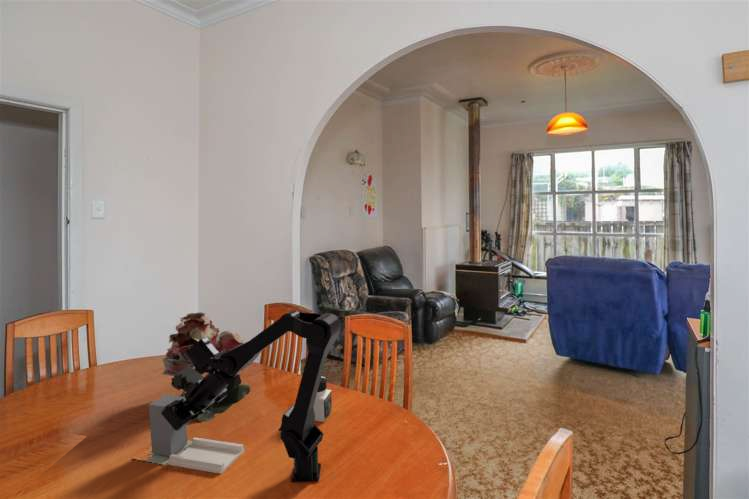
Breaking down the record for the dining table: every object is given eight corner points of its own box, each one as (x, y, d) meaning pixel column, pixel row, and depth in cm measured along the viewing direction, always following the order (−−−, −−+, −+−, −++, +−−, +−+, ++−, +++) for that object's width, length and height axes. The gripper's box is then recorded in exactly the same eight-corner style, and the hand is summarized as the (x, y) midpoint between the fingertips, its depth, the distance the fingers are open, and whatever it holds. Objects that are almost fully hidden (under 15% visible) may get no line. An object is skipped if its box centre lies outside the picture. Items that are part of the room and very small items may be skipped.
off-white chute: (244, 451, 111) (244, 443, 111) (221, 473, 101) (220, 465, 101) (196, 443, 115) (195, 436, 115) (169, 464, 105) (168, 457, 105)
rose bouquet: (260, 385, 153) (257, 304, 150) (208, 424, 125) (203, 325, 122) (200, 379, 160) (195, 301, 157) (138, 415, 132) (131, 321, 129)
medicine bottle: (324, 422, 125) (323, 383, 124) (302, 420, 127) (301, 381, 126) (332, 411, 132) (331, 374, 131) (310, 409, 134) (309, 372, 133)
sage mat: (194, 442, 115) (194, 441, 115) (164, 465, 105) (164, 464, 105) (163, 437, 118) (163, 436, 118) (131, 459, 108) (131, 458, 108)
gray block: (187, 443, 113) (184, 397, 112) (171, 456, 107) (168, 407, 106) (168, 440, 115) (166, 394, 113) (151, 453, 109) (148, 404, 108)
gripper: (216, 348, 115) (184, 383, 119) (165, 373, 98) (130, 414, 101) (242, 379, 114) (209, 413, 118) (196, 410, 96) (159, 450, 100)
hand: (178, 421), depth 109 cm, fingers closed, pressing on gray block
